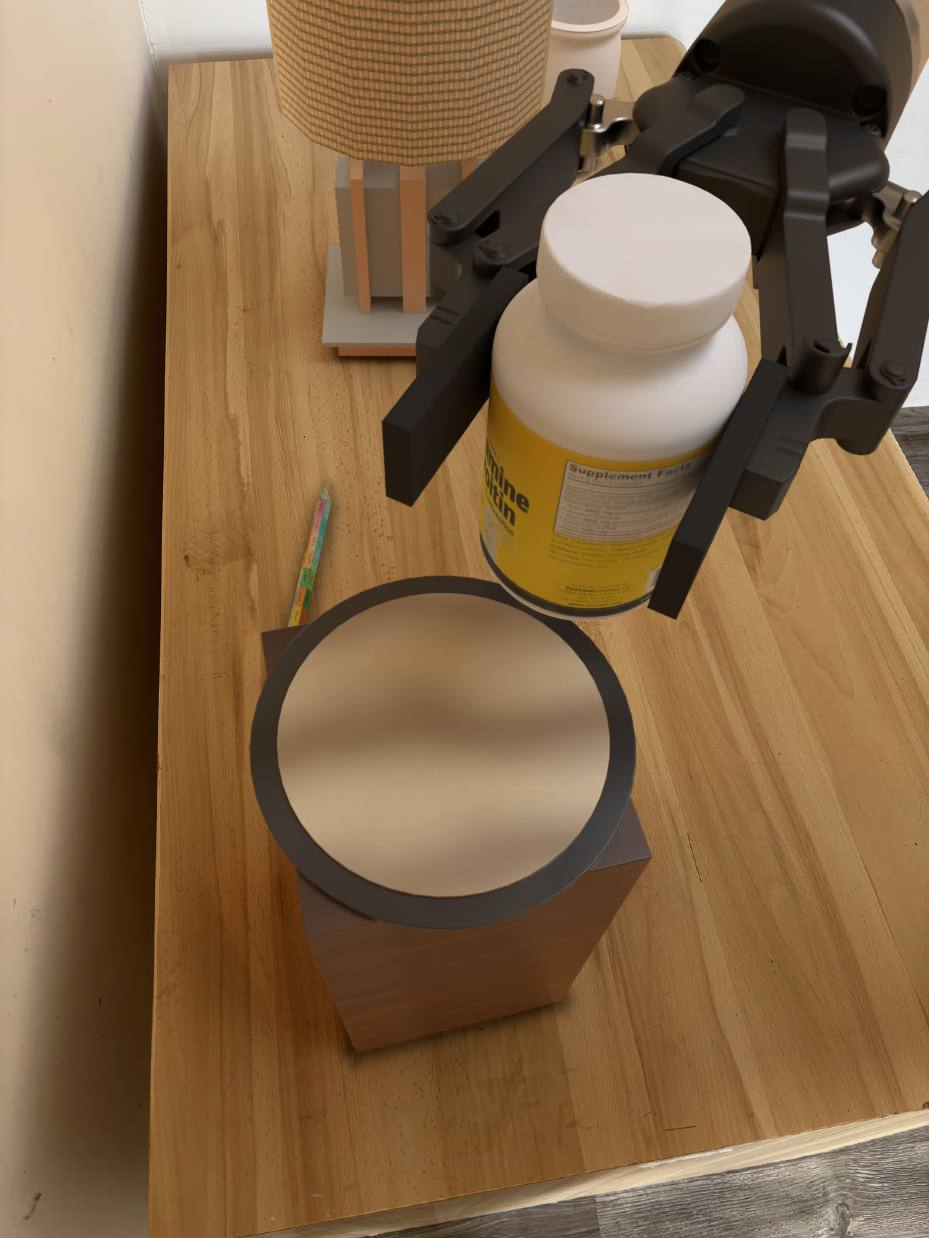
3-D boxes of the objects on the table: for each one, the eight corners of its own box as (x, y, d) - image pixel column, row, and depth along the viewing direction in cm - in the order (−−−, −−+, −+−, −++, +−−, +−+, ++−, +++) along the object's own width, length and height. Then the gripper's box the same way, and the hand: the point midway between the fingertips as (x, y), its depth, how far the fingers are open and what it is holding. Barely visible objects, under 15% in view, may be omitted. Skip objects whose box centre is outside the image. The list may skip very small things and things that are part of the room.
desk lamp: (300, 389, 80) (226, -100, 50) (313, 245, 90) (257, -229, 61) (528, 389, 81) (587, -91, 51) (514, 247, 91) (556, -220, 62)
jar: (623, 168, 99) (651, 15, 86) (540, 194, 96) (558, 39, 83) (568, 118, 104) (588, -34, 91) (488, 141, 101) (497, -12, 88)
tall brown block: (582, 1015, 54) (694, 873, 31) (341, 1077, 51) (275, 973, 29) (518, 791, 61) (572, 545, 38) (304, 837, 59) (228, 606, 36)
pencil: (321, 487, 74) (274, 685, 64) (319, 477, 73) (272, 677, 63) (337, 488, 74) (293, 686, 64) (335, 479, 73) (291, 679, 63)
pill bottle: (513, 450, 33) (550, 123, 23) (694, 503, 32) (815, 185, 22) (448, 594, 29) (458, 284, 19) (648, 659, 28) (765, 365, 18)
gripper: (1023, 252, 34) (873, 765, 23) (543, 104, 39) (217, 476, 27) (1158, 35, 28) (1042, 596, 17) (566, -113, 32) (154, 254, 21)
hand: (531, 521), depth 22 cm, fingers closed on pill bottle, 6 cm apart
